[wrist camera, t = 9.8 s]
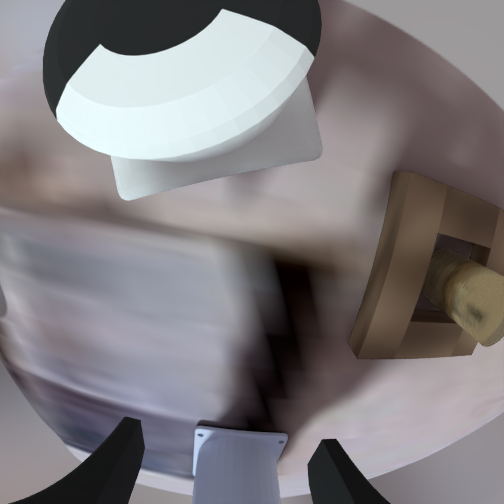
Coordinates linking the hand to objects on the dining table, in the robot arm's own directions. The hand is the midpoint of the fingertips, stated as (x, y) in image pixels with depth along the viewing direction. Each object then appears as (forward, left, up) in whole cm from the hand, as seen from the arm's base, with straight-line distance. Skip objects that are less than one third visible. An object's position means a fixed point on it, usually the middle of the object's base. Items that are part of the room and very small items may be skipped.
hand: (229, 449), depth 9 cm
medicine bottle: (+13, +3, -10) cm, 16 cm away
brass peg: (+6, -14, -9) cm, 18 cm away
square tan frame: (+6, -14, -9) cm, 18 cm away
